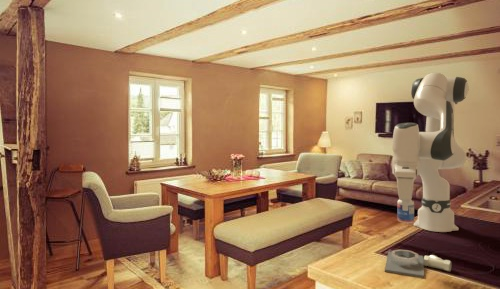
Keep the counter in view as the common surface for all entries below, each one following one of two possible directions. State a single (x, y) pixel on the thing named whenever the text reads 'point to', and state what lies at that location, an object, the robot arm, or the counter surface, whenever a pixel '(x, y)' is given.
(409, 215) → the pill bottle
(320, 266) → the counter surface
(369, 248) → the counter surface
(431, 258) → the pipe fitting
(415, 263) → the steel collar
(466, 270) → the counter surface
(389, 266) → the mat
